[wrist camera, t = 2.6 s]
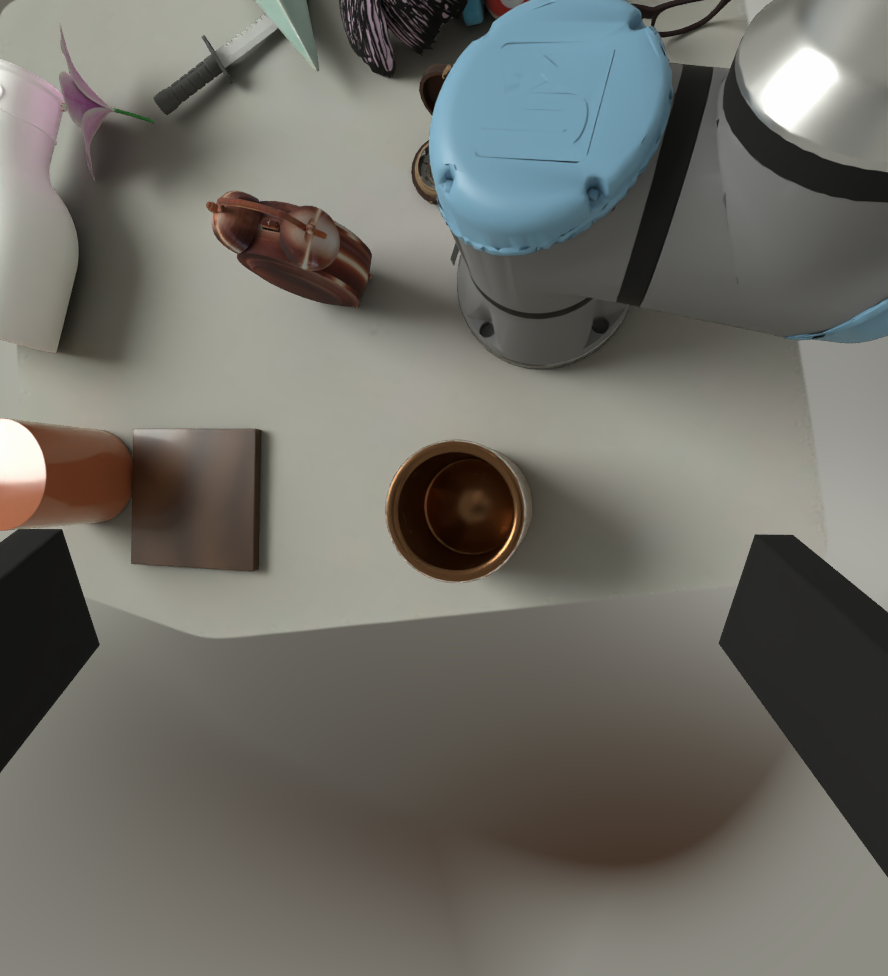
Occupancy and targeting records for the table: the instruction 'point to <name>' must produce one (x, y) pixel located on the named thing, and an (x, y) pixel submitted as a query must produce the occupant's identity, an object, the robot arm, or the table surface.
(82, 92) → the lily
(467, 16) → the toy car
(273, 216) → the alarm clock
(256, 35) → the knife
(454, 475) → the planter
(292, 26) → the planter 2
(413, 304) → the table surface
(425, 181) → the compass
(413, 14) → the decorative flower
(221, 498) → the brown wooden square plate
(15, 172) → the bottle
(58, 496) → the copper solid cylinder
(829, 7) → the robot arm
